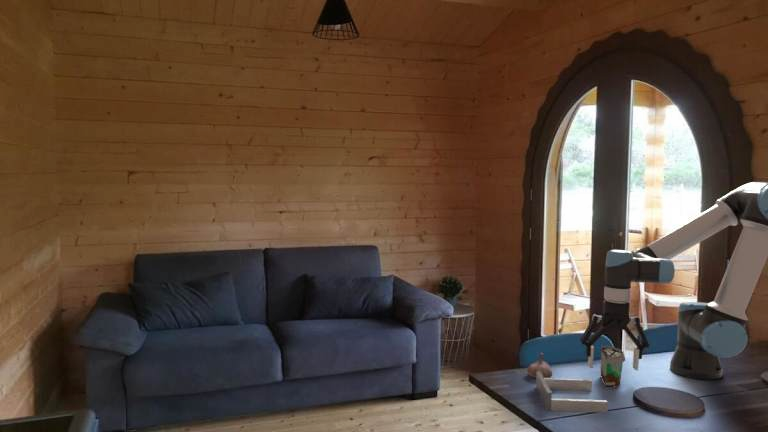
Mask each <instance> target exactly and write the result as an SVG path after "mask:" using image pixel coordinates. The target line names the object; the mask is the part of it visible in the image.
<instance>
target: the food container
mask: <svg viewBox="0 0 768 432" xmlns="http://www.w3.org/2000/svg"><path fill="white" fill-rule="evenodd" d="M625 361H626V357H625V353H624V351H623V350H622V349H620V348H617V347H613V346H609V345H608V346H607V345H601V347H600V377H601V376H602V379H603V381H604V383H605V385H604V388H605V387H613V388H615V387H614V386H618V385H619V386H620V385H621V379H622V371H623V365H624V364H623V363H624V362H625ZM602 379H601V380H602ZM603 381H602V382H603ZM604 383H603V384H604ZM619 386H618V387H619Z"/></svg>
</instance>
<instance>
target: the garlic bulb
mask: <svg viewBox="0 0 768 432" xmlns="http://www.w3.org/2000/svg"><path fill="white" fill-rule="evenodd" d="M543 359H544V353H542V352H540V353H539V359H538V361H536V362H534V363H532V364H530V365H529V366H528V367H527V374H528V375H529V376H530V377H531V378H533V379H534V378H535V379H536V371H541V373H542V375H543V377H544V378H552V376H553V370H552V368H551V365H549V363H547V362H546V361H544V360H543Z"/></svg>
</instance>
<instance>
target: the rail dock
mask: <svg viewBox="0 0 768 432" xmlns="http://www.w3.org/2000/svg"><path fill="white" fill-rule="evenodd" d="M592 387H593V381H592V379H590V378H589V379H588V378H587V379H585V378H584V379H583V378H561V377H560V378H558V377H550V378H544V377H543V375H542V373H541V371H536V378H535V388H536V390H537V392H538V394H539V397H540V399H541V401H542V403H543V405H544V409H545V410H546V411H552V412H553V411H555V412H574V413H575V412H577V413H578V412H580V413H598V414H599V413H600V414H601V413H602V414H603V413H604V414H607V413H608V403H609V402H608V401H607V400H605V399H604V400H603V399H582V398H581V399H580V398H579V399H576V398H557V397H556V398H554V397H553V396H552V395H553V394H552V390H563V391H566V390H567V391H587V390H589V392H591V391H590V390H593V389H592Z"/></svg>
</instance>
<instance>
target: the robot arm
mask: <svg viewBox="0 0 768 432" xmlns="http://www.w3.org/2000/svg"><path fill="white" fill-rule="evenodd" d="M739 224H741V225H742V230H741V232H740V235H739V238H738V239H737V241H736V245H735V247H734V250H733V252H732V255H731V257H730V260H729V262H728V264H727V267H726V270H725V273H724V275H723V277H722V279H721V283H720V285H719V288H718V289H717V291H716V295H715V297H714V300H713V301H710V302H700V301H696V302H695V301H686V302H685V301H684V302H680V304H679V306H678V311H677V314H678V317H677V334H676V335H677V341H676V347H675V350H674V352H673V355H672V357H671V360H670V363H669V369H670V370H671V371H672V372H673V373H674V374H677V375H680V376H683V377H685V378H686V377H687V378H691V379H696V380H706V381H707V380H709V381H711V380H718V379H721V378H722V376H723V367H722V365H721V360H720V358H722V359H723V358H725V359H727V358H732V357H734V356H737V355H739V354H740V353H742V352H743V351H744V349H745V348H746V346H747V345H748V341H749V340H748V334H747V331H746V329H745V328H746V325H747V324H748V321H749V319H748V316H747V314H746V310H747V307H748V306H749V302H750V300H751V297H752V295H753V293H754V290H755V288H756V286H757V283H758V282H759V279H760V275H761V273H762V271H763V269H764V266H765V263H766V262H767V258H768V182H767V181H766V182H765V181H763V182H762V181H752V182H748V183H745V184H743V185H741V186H738V187H737V188H736V189H734V190H731V191H730V192H729V193H727V194H726V195H724V196H722V197H719V198H718V199H717V200H716V201H715V204H714V205H713V206H711V207H710V208H708V209H707V210H705V211H703V212H701V213H700V214H697V215H696V216H694V217H693V218H691V219H689V220H688V221H686V222H684V223H683V224H681V225H679V226H677V227H676V228H675V229H672V230H670V231H669V232H667V233H665V234H664V235H663V236H660V237H659V238H657V239H655V240H654V241H652V242H650V243H648V244H647V245H645V246H644V247H642V248H639V249H638V250H626V249H625V250H624V249H611V250H608V251H607V252H606V257H605V264H604V265H605V266H604V267H605V272H604V288H603V298H604V300H603V307H602V314H601V315H597V314H595V313H593V314H592V315H591V320H590V322H589V324H588V325H587V328H586V329H585V330H584V332H583V334H582V335H581V337H580V339H579V342H580V343H581V345H584V346H585V353H584V354H585V356H586V357H588V358H587V359H588V361H587V366H588V367H589V368H590V369H593V368H594V351H595V350H594V349H595V347H594V346H593V345H595V343H596V342H597V341H598V340H599V339H600V338H601V337H602V335H604V334H605V333H606V332H608V330H609V331H611V332H615V331H617V332H622V331H624V332H625V334H626V335H627V336H628V338H630V340H631V341H632V342H633V344H634V345H635V346H634V347H633V355H632V356H633V357H632V358H633V359H632V368H633V370H635V371H639V360H642V359H643V351H644V350H645V349H646V348H647V349H649V348H650V344H649V341H648V340H647V339H648V338H647V337H646V335H645V332H644V330H643V328H642V326H641V319H640V317H638V316H637V315H634V316H630V302H629V301H630V300H631V286H632V283H646V284H648V283H649V284H659V285H661V284H669V283H670V284H671V283H672V282H673V280H674V278H675V269H676V268H675V265H674V263H673V261H672V259H674V258H675V257H677V256H679V255H680V254H682V253H684V252H686V251H687V250H689V249H691V248H692V247H694V246H696V245H698V244H700V243H702V241H704V240H706V239H708V238H710V237H712V236H713V235H715V234H717V233H718V232H721V231H722V230H724V229H725V228H727V227H729V226H733V227H735V226H738V225H739ZM600 321H601V322H602V324H601V325H600V327H598V329H597V330H596V331H595V332H594V330H595V329H596V327H597V325H598V323H600ZM630 322H631V323H632V325H634V328H635V330H636V332H637V335H638V337H639V339H640V341H641V342H640V341H639V339H638V338H637V337H636V336H635V335H634V333H633V332H632V330H630V328H629V327H628V325H629V324H630ZM593 332H594V333H593Z"/></svg>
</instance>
